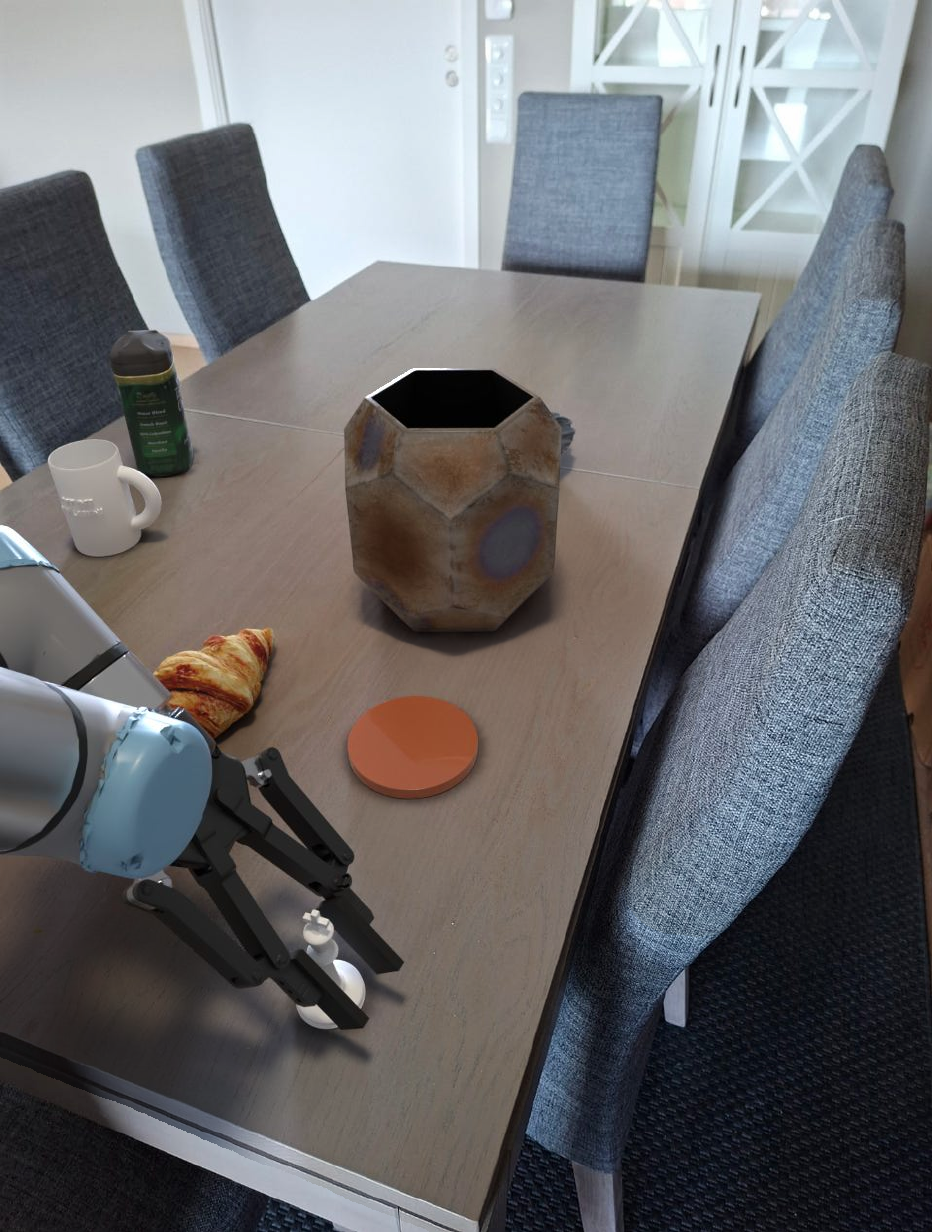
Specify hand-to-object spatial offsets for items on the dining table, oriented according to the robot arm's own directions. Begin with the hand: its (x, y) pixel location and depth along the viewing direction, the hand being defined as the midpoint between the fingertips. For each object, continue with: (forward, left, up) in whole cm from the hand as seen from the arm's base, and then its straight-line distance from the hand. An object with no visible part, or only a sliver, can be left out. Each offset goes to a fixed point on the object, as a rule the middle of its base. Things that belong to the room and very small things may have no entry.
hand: (372, 995), depth 59 cm
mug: (-36, +63, -3) cm, 73 cm away
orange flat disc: (+2, +26, -3) cm, 26 cm away
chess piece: (-3, +2, -3) cm, 5 cm away
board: (+12, +83, -3) cm, 84 cm away
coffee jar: (-36, +84, -3) cm, 91 cm away
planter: (+6, +51, -3) cm, 51 cm away
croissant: (-18, +32, -3) cm, 37 cm away
